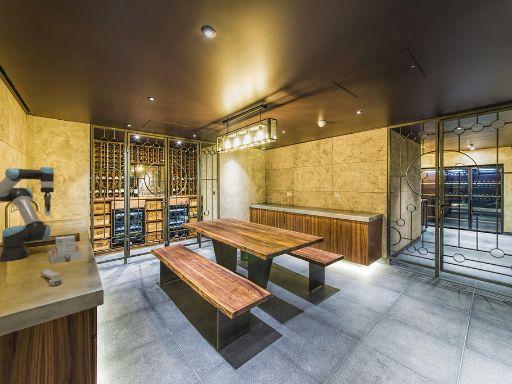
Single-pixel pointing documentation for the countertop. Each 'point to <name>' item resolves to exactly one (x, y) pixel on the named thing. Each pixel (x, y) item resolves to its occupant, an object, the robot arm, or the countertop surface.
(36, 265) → the countertop surface
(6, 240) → the robot arm
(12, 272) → the countertop surface
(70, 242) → the light bulb box
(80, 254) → the orange-striped white panel
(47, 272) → the flashlight
